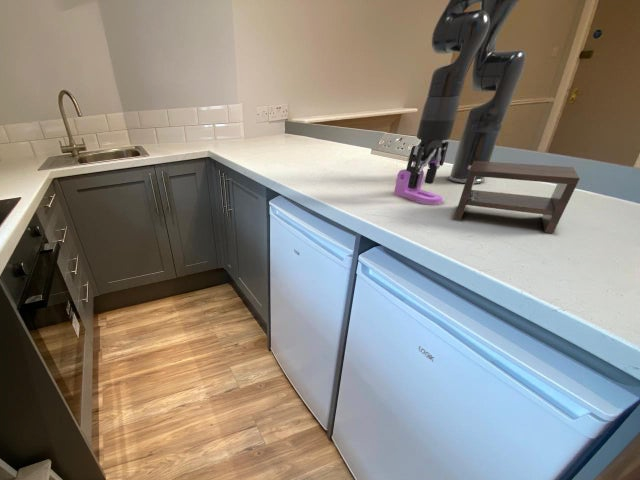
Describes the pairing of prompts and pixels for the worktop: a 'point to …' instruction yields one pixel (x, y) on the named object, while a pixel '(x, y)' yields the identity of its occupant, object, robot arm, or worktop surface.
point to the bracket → (414, 190)
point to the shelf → (521, 203)
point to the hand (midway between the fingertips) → (420, 185)
